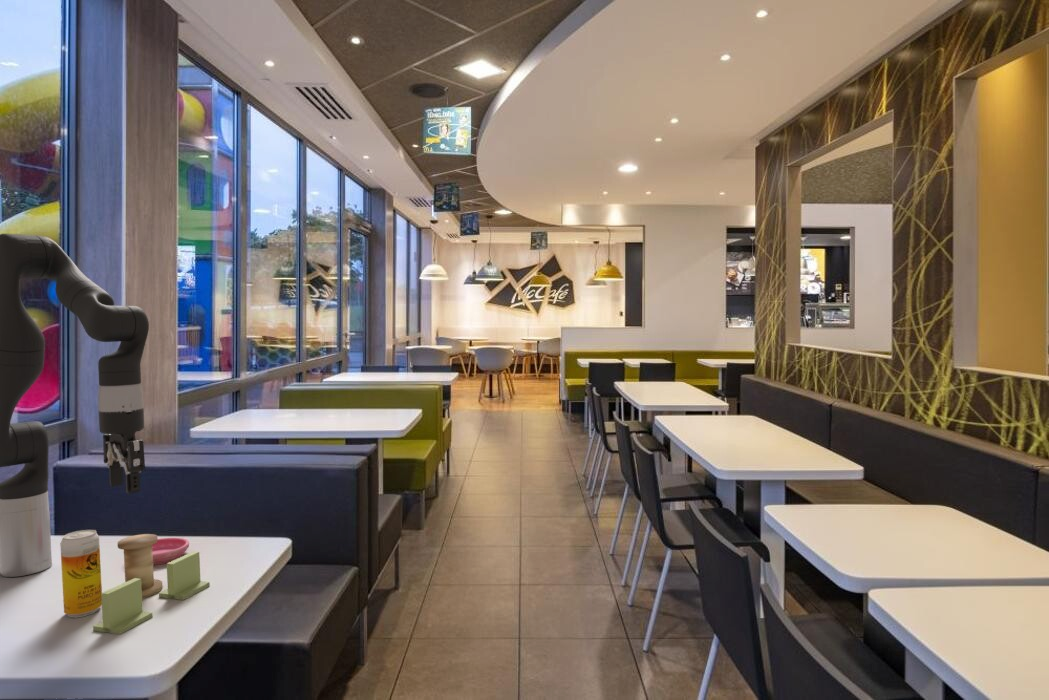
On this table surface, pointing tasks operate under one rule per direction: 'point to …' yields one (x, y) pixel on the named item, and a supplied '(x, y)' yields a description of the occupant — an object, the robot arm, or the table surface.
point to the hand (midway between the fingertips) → (124, 489)
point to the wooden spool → (140, 562)
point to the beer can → (81, 573)
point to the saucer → (168, 549)
